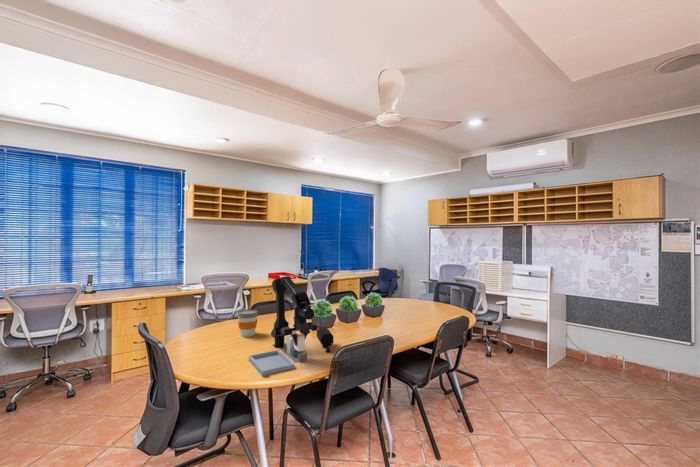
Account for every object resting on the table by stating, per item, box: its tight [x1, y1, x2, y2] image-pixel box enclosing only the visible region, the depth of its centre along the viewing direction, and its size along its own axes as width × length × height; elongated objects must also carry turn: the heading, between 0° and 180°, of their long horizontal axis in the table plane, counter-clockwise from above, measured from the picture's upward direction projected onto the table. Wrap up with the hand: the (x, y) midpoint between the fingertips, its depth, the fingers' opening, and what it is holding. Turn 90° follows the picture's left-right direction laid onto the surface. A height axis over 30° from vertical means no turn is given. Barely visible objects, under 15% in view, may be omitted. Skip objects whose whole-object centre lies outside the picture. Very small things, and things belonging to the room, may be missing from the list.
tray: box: [248, 349, 296, 377], centre depth 163 cm, size 23×16×2 cm
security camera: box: [316, 326, 334, 354], centre depth 188 cm, size 7×18×10 cm, turn 16°
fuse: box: [285, 335, 294, 353], centre depth 180 cm, size 6×3×8 cm, turn 32°
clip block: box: [280, 342, 310, 364], centre depth 175 cm, size 21×8×4 cm, turn 32°
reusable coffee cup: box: [237, 309, 259, 338], centre depth 211 cm, size 13×13×15 cm
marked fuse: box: [294, 331, 306, 352], centre depth 170 cm, size 6×3×8 cm, turn 32°
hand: (299, 345), depth 170 cm, fingers closed on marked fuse, 3 cm apart
